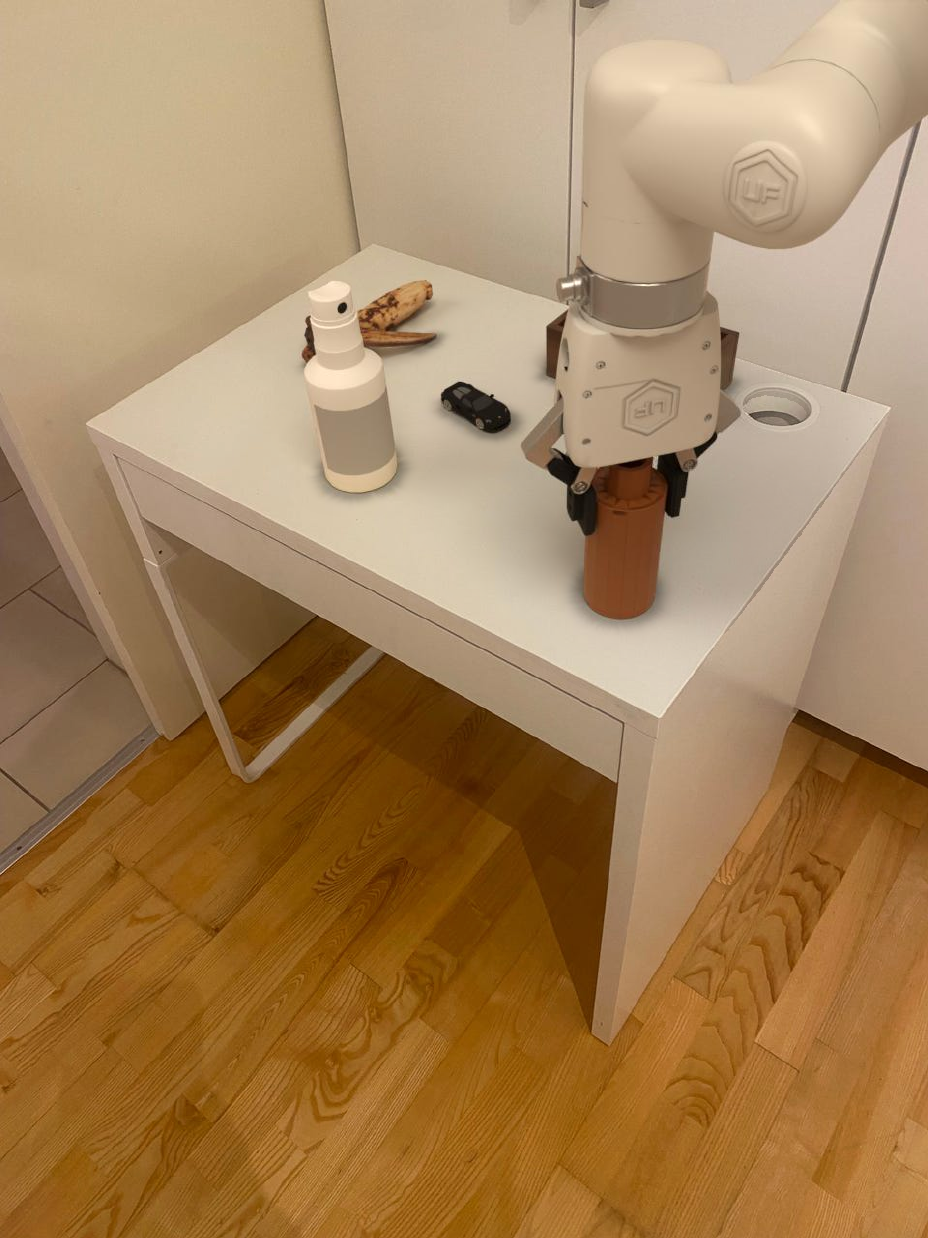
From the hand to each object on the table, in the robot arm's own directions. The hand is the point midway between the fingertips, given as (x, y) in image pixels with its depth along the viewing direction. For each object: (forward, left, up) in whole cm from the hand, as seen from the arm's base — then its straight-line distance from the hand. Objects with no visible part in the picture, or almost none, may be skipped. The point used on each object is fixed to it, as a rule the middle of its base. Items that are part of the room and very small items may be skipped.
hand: (625, 512), depth 70 cm
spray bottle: (+26, -10, -9) cm, 29 cm away
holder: (+4, -30, -8) cm, 32 cm away
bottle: (0, 0, -8) cm, 8 cm away
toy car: (+18, -21, -9) cm, 29 cm away
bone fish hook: (+32, -32, -9) cm, 46 cm away
